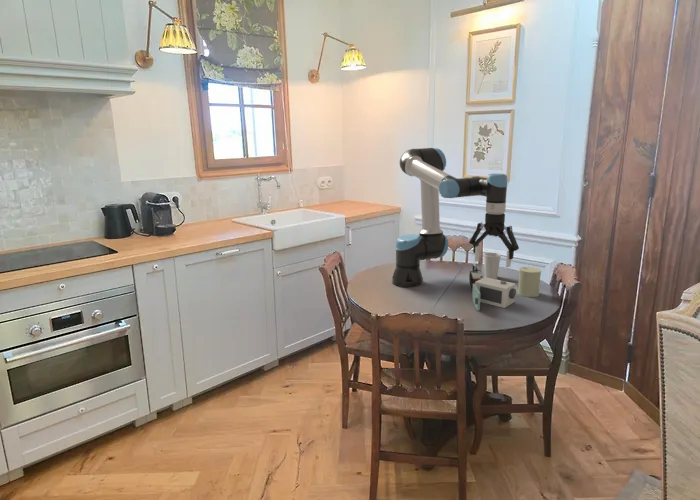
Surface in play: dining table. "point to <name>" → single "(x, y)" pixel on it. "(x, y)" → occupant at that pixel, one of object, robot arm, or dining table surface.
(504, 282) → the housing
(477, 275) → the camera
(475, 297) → the side door
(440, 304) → the dining table surface
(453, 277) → the dining table surface
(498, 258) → the cup
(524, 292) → the can
